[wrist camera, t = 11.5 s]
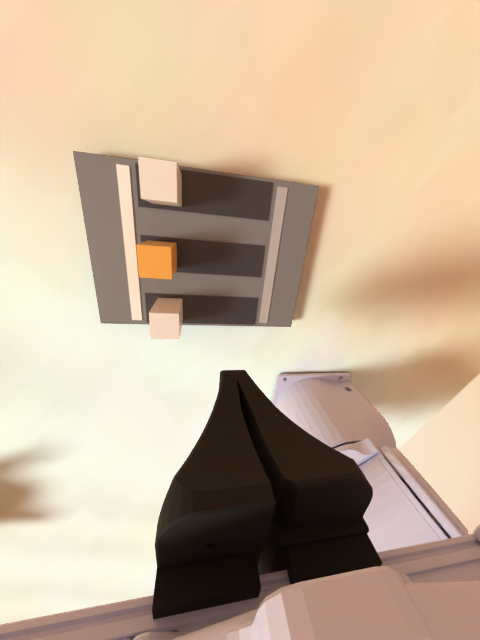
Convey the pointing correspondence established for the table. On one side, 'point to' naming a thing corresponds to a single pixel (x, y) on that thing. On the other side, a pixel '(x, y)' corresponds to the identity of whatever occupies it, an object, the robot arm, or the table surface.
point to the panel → (193, 243)
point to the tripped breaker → (157, 259)
